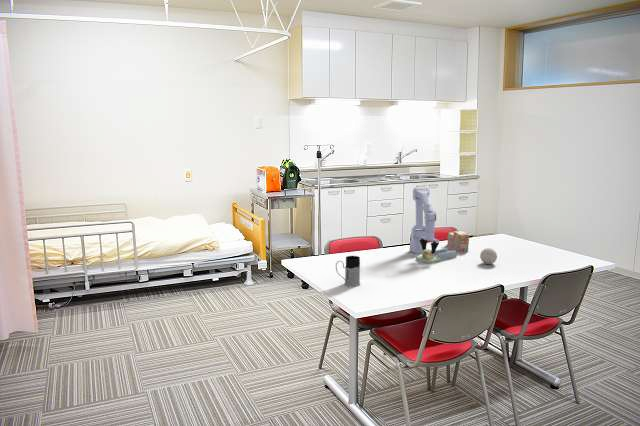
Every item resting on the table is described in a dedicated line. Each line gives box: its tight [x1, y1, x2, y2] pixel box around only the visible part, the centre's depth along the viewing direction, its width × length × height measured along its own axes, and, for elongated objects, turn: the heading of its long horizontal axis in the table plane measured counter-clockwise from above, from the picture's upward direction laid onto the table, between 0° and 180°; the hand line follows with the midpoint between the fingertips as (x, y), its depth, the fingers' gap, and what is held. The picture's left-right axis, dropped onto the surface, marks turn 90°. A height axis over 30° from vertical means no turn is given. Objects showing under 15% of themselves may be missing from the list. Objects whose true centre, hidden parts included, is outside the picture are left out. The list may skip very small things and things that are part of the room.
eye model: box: [479, 247, 498, 265], centre depth 324 cm, size 10×10×10 cm
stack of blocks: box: [446, 230, 470, 253], centre depth 363 cm, size 21×6×12 cm, turn 10°
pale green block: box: [415, 247, 457, 265], centre depth 335 cm, size 12×27×4 cm, turn 126°
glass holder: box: [335, 255, 361, 288], centre depth 280 cm, size 9×14×15 cm, turn 110°
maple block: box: [421, 248, 434, 260], centre depth 329 cm, size 5×5×5 cm
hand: (428, 252), depth 330 cm, fingers open, 7 cm apart
